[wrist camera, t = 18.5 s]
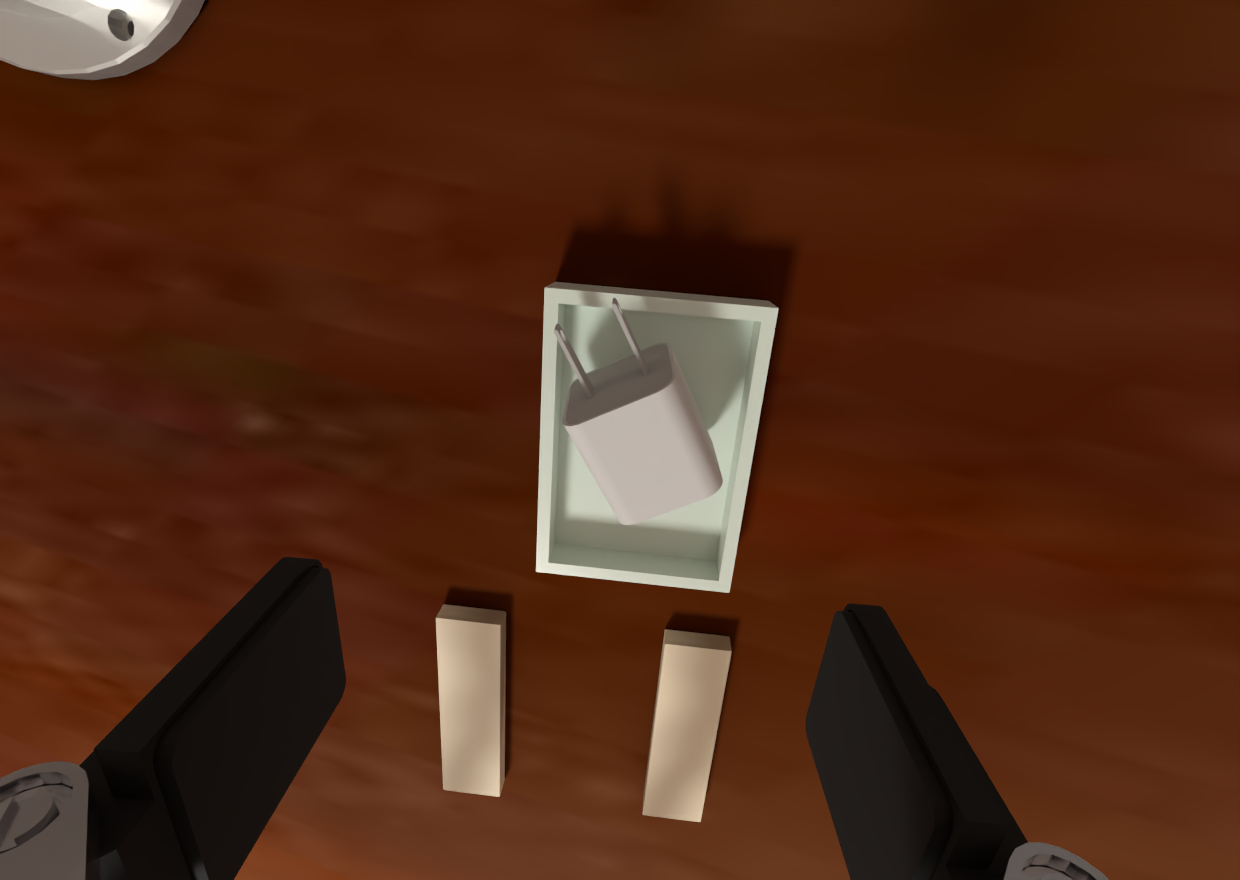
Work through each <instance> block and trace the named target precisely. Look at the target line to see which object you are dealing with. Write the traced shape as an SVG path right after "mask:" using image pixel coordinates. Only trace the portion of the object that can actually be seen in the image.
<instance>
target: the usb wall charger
mask: <svg viewBox="0 0 1240 880" xmlns="http://www.w3.org/2000/svg"><path fill="white" fill-rule="evenodd" d="M612 307H613V309H614V311H615V314H616V316H617V318H618V320H619V322H620V324H621V327H622V329H623V331H624V333H625V335H626V337H627V340H628V342H629V344H630V346H631V348H632V350H633V352H634V353H633V354H630V355H628V356H625V357H623V358H621V359H618V360H616V361H614V362H611V363H609V364H607V365H604V366H602V367H600V368H597V369H595V370H593V371H590V372H588V373H585V371H584V369H583V367H582V365H581V363H580V361H579V359H578V357H577V355H576V354H575V352H574V350H573V348H572V346H571V344H570V342H569V341H568V339H567V337H566V335H565V333H564V331H563V330H562V328H561V326H560V325H559V324H556V326H555V330H554V334H555V336H556V337H557V339H558V341H559V343H560V345H561V347H562V349H563V351H564V353H565V355H566V357H567V359H568V361H569V363H570V364H571V366H572V368H573V370H574V372H575V374H576V376H577V379H576V380H575V381H574V382H572V384H571V385H570V386H569V389H568V394H567V399H566V405H565V410H564V416H563V421H562V422H563V425H564V426H565V428H566V430H567V432H568V433H569V435H570V437H571V439H572V440H573V442H574V444H575V446H576V447H577V449H578V451H579V453H580V454H581V456H582V458H583V460H584V461H585V463H586V465H587V467H588V468H589V470H590V472H591V474H592V475H593V477H594V479H595V481H596V482H597V484H598V486H599V487H600V489H601V491H602V493H603V494H604V496H605V498H606V500H607V501H608V503H609V505H610V507H611V508H612V510H613V512H614V514H615V515H616V517H617V519H618V521H619V522H620V523H621V524H624V525H632V524H636V523H639V522H642V521H645V520H648V519H650V518H653V517H656V516H659V515H661V514H664V513H667V512H670V511H673V510H675V509H678V508H681V507H684V506H686V505H689V504H692V503H695V502H698V501H700V500H703V499H706V498H708V497H710V496H712V495H713V494H715V493H716V492H717V491H718V490H719V489H720V488H721V486H722V483H723V479H722V475H721V471H720V468H719V464H718V460H717V457H716V453H715V449H714V446H713V442H712V440H711V438H710V435H709V433H708V431H707V428H706V426H705V424H704V421H703V419H702V417H701V415H700V412H699V410H698V408H697V405H696V403H695V401H694V398H693V396H692V394H691V392H690V389H689V387H688V385H687V382H686V380H685V378H684V376H683V373H682V371H681V369H680V366H679V364H678V362H677V359H676V357H675V355H674V353H673V350H672V348H671V346H670V344H669V343H658V344H654V345H651V346H649V347H647V348H644V349H642V350H640V348H639V346H638V344H637V341H636V339H635V337H634V335H633V333H632V331H631V328H630V326H629V324H628V322H627V320H626V318H625V316H624V314H623V311H622V309H621V307H620V305H619V303H618V301H617V299H616V298H613V300H612Z"/></svg>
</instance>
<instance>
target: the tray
mask: <svg viewBox="0 0 1240 880" xmlns="http://www.w3.org/2000/svg"><path fill="white" fill-rule="evenodd" d="M613 298H616V299H617V301H618V303H619V305H620V307H621V309H622V311H623V314H624V316H625V318H626V320H627V322H628V324H629V326H630V328H631V331H632V333H633V335H634V337H635V339H636V341H637V344H638V346H639V348H640V350H642V349H644V348H647V347H649V346H651V345H654V344H658V343H669V344H670V346H671V348H672V350H673V353H674V355H675V357H676V359H677V362H678V364H679V366H680V369H681V371H682V373H683V376H684V378H685V380H686V382H687V385H688V387H689V389H690V392H691V394H692V396H693V398H694V401H695V403H696V405H697V408H698V410H699V412H700V415H701V417H702V419H703V421H704V424H705V426H706V428H707V431H708V433H709V435H710V438H711V440H712V442H713V446H714V449H715V453H716V457H717V460H718V464H719V468H720V471H721V475H722V479H723V483H722V486H721V488H720V489H719V490H718V491H717V492H716V493H715V494H713V495H712V496H710V497H708V498H706V499H703V500H700V501H698V502H695V503H692V504H689V505H686V506H684V507H681V508H678V509H675V510H673V511H670V512H667V513H664V514H661V515H659V516H656V517H653V518H650V519H648V520H645V521H642V522H639V523H636V524H632V525H624V524H621V523H620V522H619V521H618V519H617V517H616V515H615V514H614V512H613V510H612V508H611V507H610V505H609V503H608V501H607V500H606V498H605V496H604V494H603V493H602V491H601V489H600V487H599V486H598V484H597V482H596V481H595V479H594V477H593V475H592V474H591V472H590V470H589V468H588V467H587V465H586V463H585V461H584V460H583V458H582V456H581V454H580V453H579V451H578V449H577V447H576V446H575V444H574V442H573V440H572V439H571V437H570V435H569V433H568V432H567V430H566V428H565V426H564V425H563V422H562V421H563V416H564V410H565V405H566V399H567V394H568V389H569V386H570V385H571V384H572V382H574V381H575V380H576V379H577V376H576V374H575V372H574V370H573V368H572V366H571V364H570V363H569V361H568V359H567V357H566V355H565V353H564V351H563V349H562V347H561V345H560V343H559V341H558V339H557V337H556V336H555V334H554V330H555V326H556V324H559V325H560V326H561V328H562V330H563V331H564V333H565V335H566V337H567V339H568V341H569V342H570V344H571V346H572V348H573V350H574V352H575V354H576V355H577V357H578V359H579V361H580V363H581V365H582V367H583V369H584V371H585V373H588V372H590V371H593V370H595V369H597V368H600V367H602V366H604V365H607V364H609V363H611V362H614V361H616V360H618V359H621V358H623V357H625V356H628V355H630V354H633V353H634V352H633V350H632V348H631V346H630V344H629V342H628V340H627V337H626V335H625V333H624V331H623V329H622V327H621V324H620V322H619V320H618V318H617V316H616V314H615V311H614V309H613V307H612V300H613ZM778 309H779V308H778V307H776V306H775V305H774V304H772V303H771V302H770V301H767V300H755V299H744V298H733V297H721V296H710V295H699V294H687V293H676V292H665V291H653V290H642V289H631V288H619V287H608V286H597V285H585V284H574V283H563V282H554V283H552V284H550V285H548V286H546V287H545V292H544V325H543V358H542V391H541V424H540V457H539V490H538V523H537V556H536V572H544V573H553V574H562V575H571V576H580V577H589V578H598V579H608V580H617V581H626V582H635V583H644V584H653V585H662V586H671V587H681V588H690V589H699V590H708V591H717V592H726V593H729V592H730V586H731V580H732V575H733V569H734V563H735V557H736V551H737V546H738V540H739V534H740V528H741V523H742V517H743V511H744V505H745V500H746V494H747V488H748V482H749V476H750V471H751V465H752V459H753V453H754V448H755V442H756V436H757V430H758V425H759V419H760V413H761V407H762V401H763V396H764V390H765V384H766V378H767V373H768V367H769V361H770V355H771V350H772V344H773V338H774V332H775V326H776V321H777V315H778Z"/></svg>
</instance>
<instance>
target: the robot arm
mask: <svg viewBox="0 0 1240 880" xmlns="http://www.w3.org/2000/svg"><path fill="white" fill-rule="evenodd" d="M204 1H205V0H0V60H2V61H5V62H7V63H10V64H12V65H15V66H17V67H20V68H23V69H27V70H32V71H36V72H40V73H44V74H48V75H53V76H57V77H61V78H72V79H86V80H99V79H105V78H111V77H117V76H123V75H127V74H129V73H131V72H133V71H136V70H138V69H140V68H142V67H144V66H147V65H149V64H151V63H153V62H155V61H156V60H157V59H158V58H159V57H161V56H162V55H163V54H164V53H166V52H167V51H168V50H169V49H170V48H172V47H173V46H174V45H175V44H177V43H178V42H179V40H180V39H181V38H182V36H183V35H184V33H185V32H186V31H187V29H188V28H189V27H190V25H191V24H192V23H193V21H194V20H195V19H196V17H197V16H198V14H199V12H200V10H201V7H202V5H203V3H204ZM345 684H346V676H345V669H344V662H343V655H342V648H341V641H340V634H339V627H338V620H337V613H336V607H335V600H334V593H333V586H332V579H331V574H330V571H329V570H328V569H326V568H323V567H322V564H321V563H320V561H319V560H316V559H305V558H293V557H285V558H282V559H281V560H280V561H279V562H278V563H277V564H276V565H275V566H274V567H273V568H272V569H271V570H270V571H269V572H268V573H267V574H266V575H265V576H264V577H263V578H262V579H261V580H260V581H259V582H258V583H257V584H256V585H255V586H254V587H253V588H252V589H251V590H250V591H249V592H248V593H247V594H246V595H245V596H244V597H243V598H242V599H241V600H240V601H239V602H238V603H237V604H236V605H235V606H234V607H233V608H232V609H231V610H230V611H229V612H228V613H227V614H226V615H225V616H224V617H223V618H222V619H221V620H220V621H219V622H218V623H217V624H216V625H215V626H214V627H213V628H212V629H211V630H210V631H209V632H208V634H207V635H206V636H205V637H204V638H203V639H202V640H201V641H200V642H199V643H198V644H197V645H196V646H195V647H194V648H193V649H192V650H191V651H190V652H189V653H188V654H187V655H186V656H185V657H184V658H183V659H182V660H181V661H180V662H179V663H178V664H177V665H176V666H175V667H174V668H173V669H172V670H171V671H170V672H169V673H168V674H167V675H166V676H165V677H164V678H163V679H162V680H161V681H160V682H159V683H158V684H157V685H156V686H155V687H154V688H153V689H152V690H151V691H150V692H149V693H148V694H147V695H146V696H145V697H144V698H143V699H142V700H141V701H140V702H139V703H138V704H137V705H136V707H135V708H134V709H133V710H132V711H131V712H130V713H129V714H128V715H127V716H126V717H125V718H124V719H123V720H122V721H121V722H120V723H119V724H118V725H117V726H116V727H115V728H114V729H113V730H112V731H111V732H110V733H109V734H108V735H107V736H106V737H105V738H104V739H103V740H102V741H101V742H100V743H99V744H98V745H97V746H96V747H95V748H94V751H93V752H92V753H91V754H90V755H89V756H88V758H87V759H86V760H85V761H84V762H83V763H82V764H81V765H80V766H78V765H77V764H74V763H68V762H62V761H59V762H50V763H41V764H37V765H34V766H31V767H27V768H24V769H20V770H18V771H15V772H13V773H11V774H9V775H7V776H4V777H2V778H0V880H234V878H235V877H236V875H237V873H238V872H239V870H240V868H241V866H242V865H243V863H244V861H245V860H246V858H247V856H248V855H249V853H250V851H251V850H252V848H253V846H254V845H255V843H256V841H257V840H258V838H259V836H260V834H261V833H262V831H263V829H264V828H265V826H266V824H267V823H268V821H269V819H270V818H271V816H272V814H273V813H274V811H275V809H276V808H277V806H278V804H279V802H280V801H281V799H282V797H283V796H284V794H285V792H286V791H287V789H288V787H289V786H290V784H291V782H292V781H293V779H294V777H295V776H296V774H297V772H298V770H299V769H300V767H301V765H302V764H303V762H304V760H305V759H306V757H307V755H308V754H309V752H310V750H311V749H312V747H313V745H314V744H315V742H316V740H317V738H318V737H319V735H320V733H321V732H322V730H323V728H324V727H325V725H326V723H327V722H328V720H329V718H330V717H331V715H332V713H333V712H334V710H335V708H336V706H337V705H338V703H339V701H340V700H341V698H342V695H343V692H344V689H345ZM806 733H807V738H808V742H809V745H810V748H811V751H812V755H813V758H814V761H815V764H816V768H817V771H818V774H819V777H820V781H821V784H822V787H823V790H824V794H825V797H826V800H827V803H828V807H829V810H830V813H831V817H832V820H833V823H834V826H835V830H836V833H837V836H838V839H839V843H840V846H841V849H842V852H843V856H844V859H845V862H846V865H847V869H848V872H849V875H850V878H851V880H1109V879H1108V878H1106V877H1105V876H1104V875H1103V874H1102V873H1101V872H1100V871H1098V870H1097V869H1096V868H1094V867H1093V866H1091V865H1090V864H1089V863H1087V862H1086V861H1085V860H1083V859H1082V858H1080V857H1078V856H1076V855H1074V854H1072V853H1070V852H1068V851H1066V850H1064V849H1062V848H1060V847H1056V846H1052V845H1049V844H1045V843H1028V842H1027V840H1026V838H1025V837H1024V835H1023V833H1022V832H1021V830H1020V828H1019V827H1018V825H1017V823H1016V821H1015V820H1014V818H1013V816H1012V815H1011V813H1010V811H1009V810H1008V808H1007V806H1006V805H1005V803H1004V801H1003V800H1002V798H1001V796H1000V795H999V793H998V791H997V790H996V788H995V786H994V785H993V783H992V781H991V780H990V778H989V776H988V775H987V773H986V771H985V770H984V768H983V766H982V765H981V763H980V761H979V760H978V758H977V756H976V755H975V753H974V751H973V750H972V748H971V746H970V745H969V743H968V741H967V740H966V738H965V736H964V735H963V733H962V731H961V730H960V728H959V726H958V724H957V723H956V721H955V719H954V718H953V716H952V714H951V713H950V711H949V709H948V708H947V706H946V704H945V703H944V701H943V699H942V698H941V696H940V695H939V694H938V692H937V691H936V690H935V689H934V688H932V687H931V686H929V685H928V683H927V681H926V679H925V678H924V676H923V674H922V673H921V671H920V669H919V668H918V666H917V664H916V662H915V661H914V659H913V657H912V656H911V654H910V652H909V651H908V649H907V647H906V645H905V644H904V642H903V640H902V639H901V637H900V635H899V633H898V632H897V630H896V628H895V627H894V625H893V623H892V622H891V620H890V618H889V616H888V615H887V613H886V611H885V610H884V609H883V608H882V607H880V606H873V605H861V604H848V605H847V606H846V607H845V609H844V611H837V612H836V613H835V615H834V618H833V622H832V625H831V629H830V633H829V636H828V640H827V644H826V647H825V651H824V654H823V658H822V662H821V665H820V669H819V673H818V676H817V680H816V683H815V687H814V691H813V694H812V698H811V701H810V705H809V709H808V712H807V717H806Z"/></svg>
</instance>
